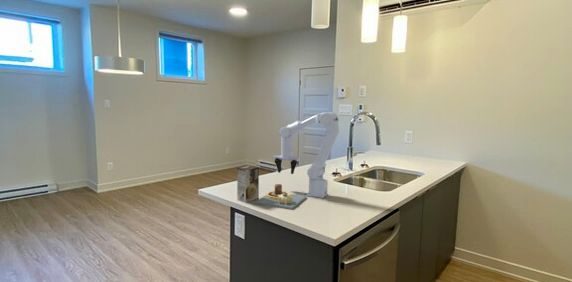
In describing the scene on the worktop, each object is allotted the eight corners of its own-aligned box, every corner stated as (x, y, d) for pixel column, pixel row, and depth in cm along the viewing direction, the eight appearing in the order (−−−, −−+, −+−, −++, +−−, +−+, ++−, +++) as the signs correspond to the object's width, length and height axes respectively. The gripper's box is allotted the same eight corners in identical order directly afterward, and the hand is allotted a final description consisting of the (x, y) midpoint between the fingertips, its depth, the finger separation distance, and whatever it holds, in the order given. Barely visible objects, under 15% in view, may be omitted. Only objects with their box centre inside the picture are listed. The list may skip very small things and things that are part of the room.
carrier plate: (306, 198, 159) (306, 188, 158) (292, 209, 141) (292, 198, 141) (272, 193, 166) (272, 184, 165) (255, 203, 149) (255, 193, 148)
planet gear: (288, 194, 162) (288, 183, 161) (284, 199, 153) (285, 187, 152) (271, 192, 163) (271, 182, 162) (267, 197, 155) (267, 186, 154)
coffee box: (250, 195, 161) (250, 164, 159) (259, 198, 157) (259, 166, 155) (236, 199, 154) (236, 167, 152) (245, 202, 150) (245, 169, 148)
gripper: (301, 148, 171) (300, 172, 173) (277, 146, 177) (276, 170, 179) (296, 150, 165) (296, 175, 167) (271, 148, 170) (271, 172, 172)
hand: (285, 173), depth 172 cm, fingers open, 7 cm apart
